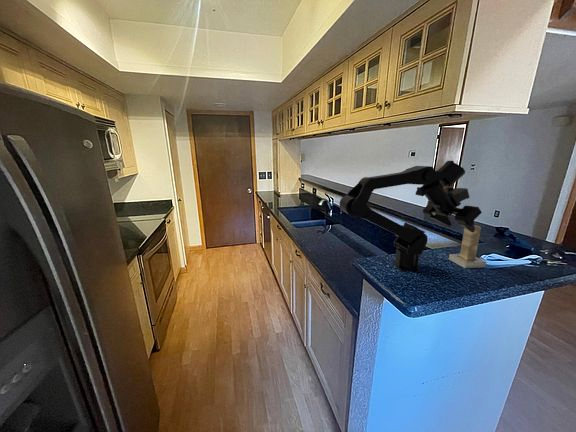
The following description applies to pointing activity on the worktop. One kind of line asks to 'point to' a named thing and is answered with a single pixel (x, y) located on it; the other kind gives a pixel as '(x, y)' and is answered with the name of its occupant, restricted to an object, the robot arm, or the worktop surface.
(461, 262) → the socket plate
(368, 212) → the robot arm
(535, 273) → the worktop surface
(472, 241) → the pin
